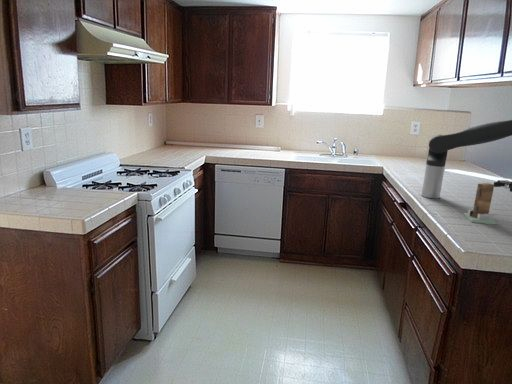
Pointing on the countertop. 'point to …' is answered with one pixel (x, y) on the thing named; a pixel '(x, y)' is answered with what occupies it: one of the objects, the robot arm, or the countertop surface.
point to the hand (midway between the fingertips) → (502, 186)
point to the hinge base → (488, 221)
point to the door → (483, 199)
